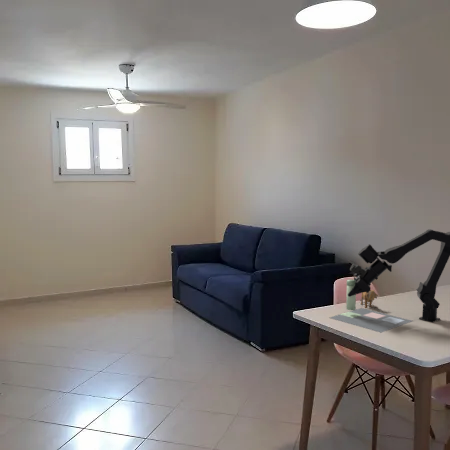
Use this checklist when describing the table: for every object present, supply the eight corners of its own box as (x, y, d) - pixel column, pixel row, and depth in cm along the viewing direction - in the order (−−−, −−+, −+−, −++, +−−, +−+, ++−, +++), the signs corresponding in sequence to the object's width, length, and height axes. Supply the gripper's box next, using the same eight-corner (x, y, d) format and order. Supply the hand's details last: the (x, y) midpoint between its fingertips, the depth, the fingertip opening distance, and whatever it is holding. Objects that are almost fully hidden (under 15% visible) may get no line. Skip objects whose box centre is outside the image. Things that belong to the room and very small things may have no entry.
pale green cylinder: (352, 307, 214) (352, 279, 212) (357, 309, 210) (358, 281, 208) (344, 308, 212) (344, 279, 211) (349, 310, 208) (350, 281, 207)
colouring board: (361, 308, 222) (361, 307, 222) (413, 321, 202) (413, 320, 202) (328, 318, 207) (328, 317, 207) (381, 333, 187) (381, 332, 187)
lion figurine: (379, 309, 220) (379, 290, 219) (368, 310, 219) (368, 291, 219) (365, 301, 235) (365, 283, 234) (354, 302, 234) (355, 284, 233)
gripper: (359, 254, 217) (334, 277, 220) (362, 261, 199) (335, 286, 202) (377, 271, 216) (351, 294, 219) (382, 280, 198) (354, 305, 201)
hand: (348, 294), depth 211 cm, fingers closed on pale green cylinder, 4 cm apart
